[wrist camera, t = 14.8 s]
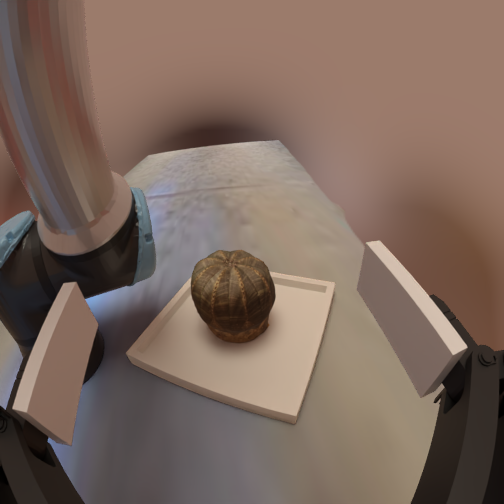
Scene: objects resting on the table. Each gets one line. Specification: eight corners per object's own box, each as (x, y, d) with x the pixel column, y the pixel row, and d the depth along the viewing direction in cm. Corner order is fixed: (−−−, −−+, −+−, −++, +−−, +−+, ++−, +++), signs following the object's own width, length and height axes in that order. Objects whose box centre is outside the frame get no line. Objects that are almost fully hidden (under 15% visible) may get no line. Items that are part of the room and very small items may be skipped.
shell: (189, 347, 37) (166, 280, 31) (217, 297, 46) (205, 233, 39) (265, 363, 34) (260, 294, 28) (282, 306, 43) (281, 239, 36)
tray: (131, 363, 36) (125, 353, 34) (208, 271, 54) (206, 260, 53) (295, 424, 27) (296, 416, 26) (333, 294, 46) (335, 282, 44)
